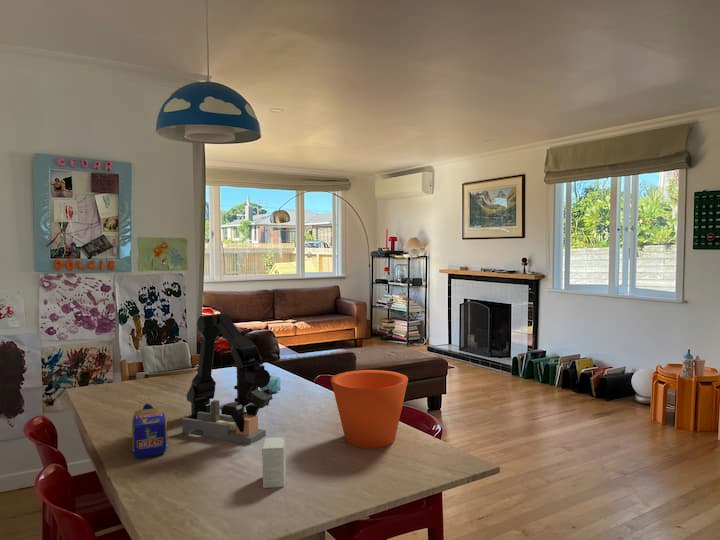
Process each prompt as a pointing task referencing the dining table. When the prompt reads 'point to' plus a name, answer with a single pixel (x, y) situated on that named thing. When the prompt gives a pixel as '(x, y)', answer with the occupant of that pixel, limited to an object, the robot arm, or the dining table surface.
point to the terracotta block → (249, 425)
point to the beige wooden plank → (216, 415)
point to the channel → (217, 429)
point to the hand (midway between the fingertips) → (246, 429)
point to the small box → (273, 462)
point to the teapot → (273, 384)
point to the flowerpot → (369, 405)
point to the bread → (149, 432)
